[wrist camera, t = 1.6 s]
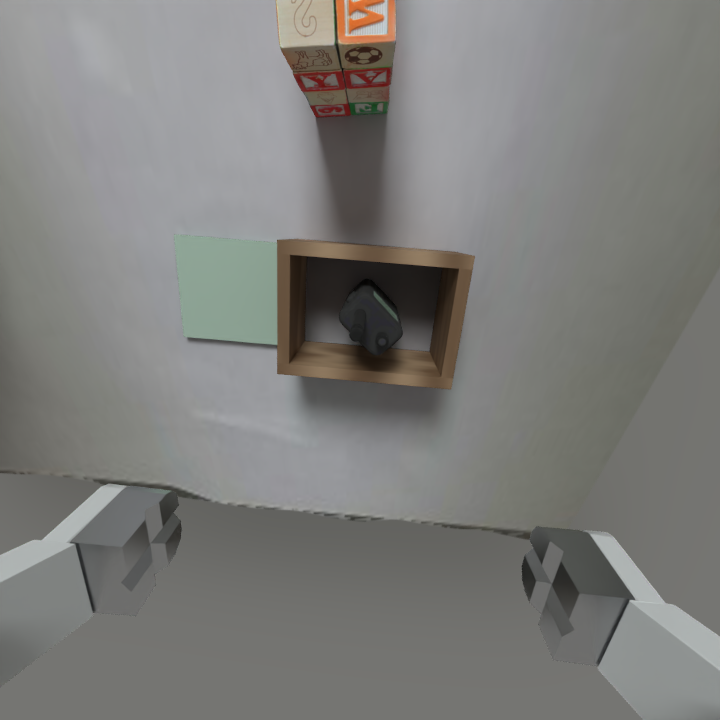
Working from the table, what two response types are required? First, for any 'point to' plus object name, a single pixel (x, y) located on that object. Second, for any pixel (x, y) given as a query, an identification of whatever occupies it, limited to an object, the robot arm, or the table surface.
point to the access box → (357, 360)
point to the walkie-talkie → (371, 318)
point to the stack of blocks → (340, 52)
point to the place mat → (227, 288)
